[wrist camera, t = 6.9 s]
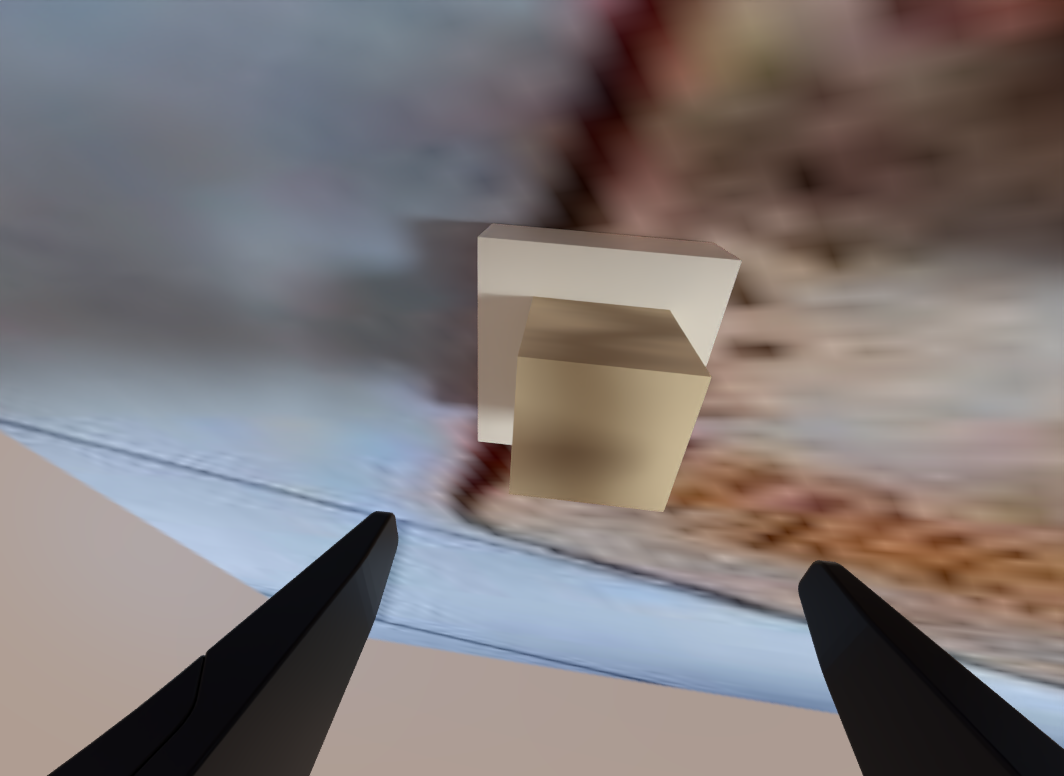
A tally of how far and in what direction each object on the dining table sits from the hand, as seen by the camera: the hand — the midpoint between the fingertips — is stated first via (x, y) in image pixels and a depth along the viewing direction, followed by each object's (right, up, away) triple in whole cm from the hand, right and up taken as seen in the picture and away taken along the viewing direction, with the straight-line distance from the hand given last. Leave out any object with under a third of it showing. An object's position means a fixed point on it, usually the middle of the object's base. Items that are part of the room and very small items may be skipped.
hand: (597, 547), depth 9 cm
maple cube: (+1, +4, +7) cm, 9 cm away
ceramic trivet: (+1, +6, +10) cm, 12 cm away
